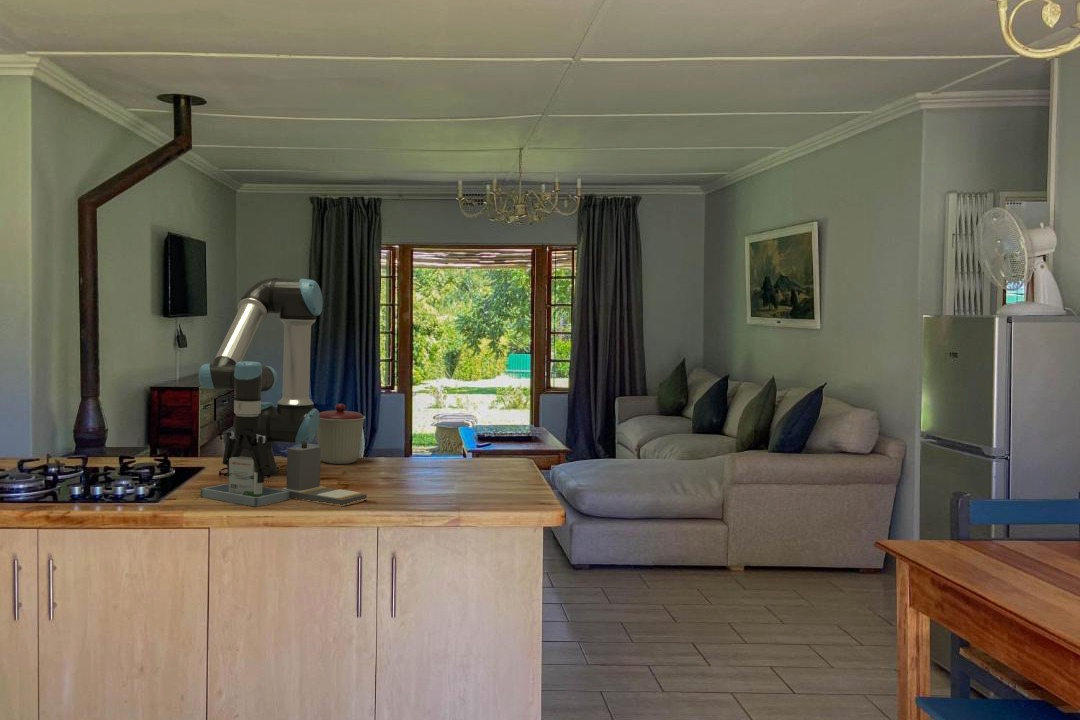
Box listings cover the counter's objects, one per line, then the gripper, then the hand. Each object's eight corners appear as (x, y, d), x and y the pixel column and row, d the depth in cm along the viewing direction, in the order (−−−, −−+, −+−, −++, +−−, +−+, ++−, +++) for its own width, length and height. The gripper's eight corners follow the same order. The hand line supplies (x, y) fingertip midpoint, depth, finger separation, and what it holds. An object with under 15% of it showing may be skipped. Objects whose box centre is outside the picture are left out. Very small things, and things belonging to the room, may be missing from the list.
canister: (339, 468, 356) (341, 407, 355) (302, 461, 366) (303, 402, 365) (374, 462, 371) (376, 404, 370) (338, 456, 381) (339, 399, 380)
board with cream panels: (278, 496, 305) (278, 488, 305) (303, 490, 315) (304, 483, 314) (342, 507, 293) (342, 499, 293) (366, 501, 303) (366, 493, 303)
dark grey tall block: (286, 488, 305) (287, 442, 304) (306, 484, 313) (308, 438, 312) (299, 490, 302) (300, 443, 301) (319, 486, 310) (320, 440, 309)
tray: (200, 497, 299) (200, 488, 299) (235, 490, 311) (235, 482, 311) (255, 507, 289) (256, 498, 289) (289, 499, 301) (289, 491, 300)
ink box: (262, 498, 301) (263, 457, 300) (253, 500, 296) (253, 460, 295) (237, 494, 304) (238, 455, 303) (227, 497, 299) (228, 457, 298)
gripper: (210, 412, 300) (208, 488, 302) (266, 419, 290) (264, 498, 291) (229, 410, 307) (227, 485, 308) (284, 417, 296) (282, 494, 298)
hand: (245, 491), depth 300 cm, fingers closed on ink box, 9 cm apart
